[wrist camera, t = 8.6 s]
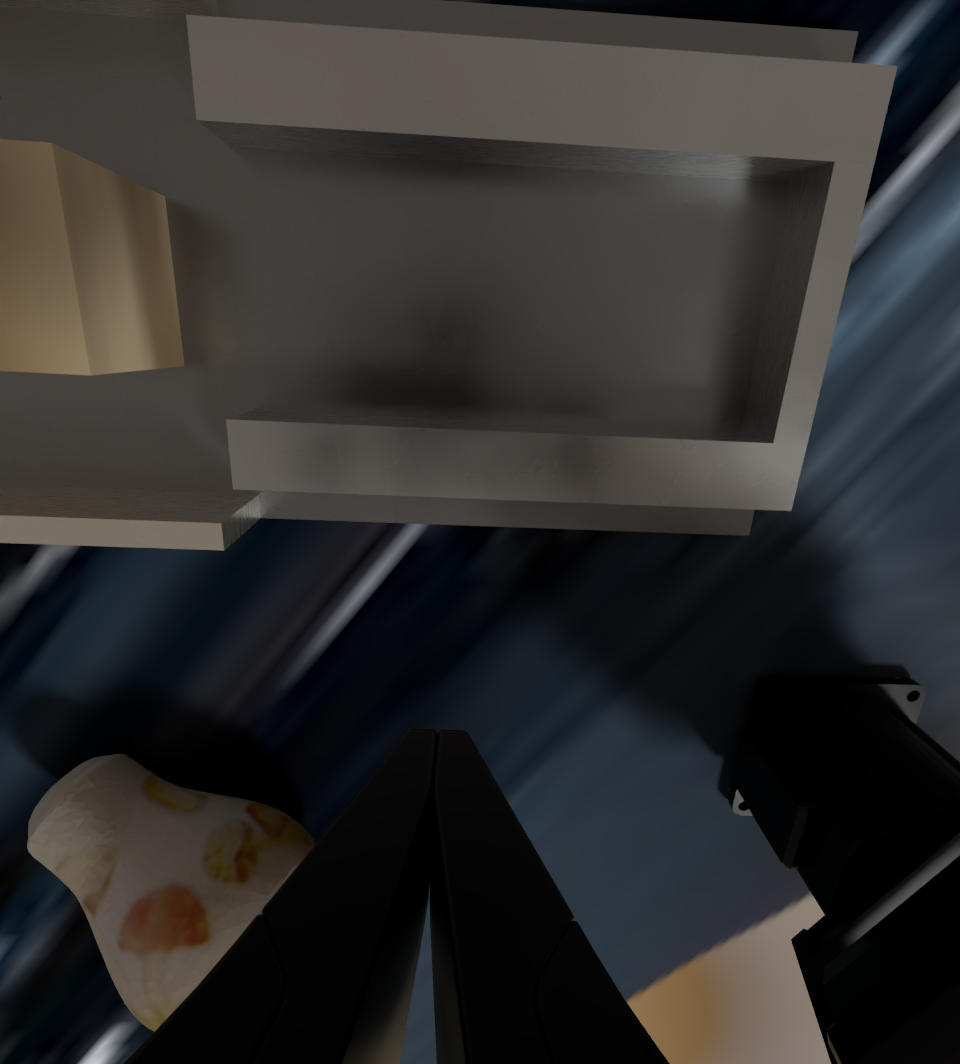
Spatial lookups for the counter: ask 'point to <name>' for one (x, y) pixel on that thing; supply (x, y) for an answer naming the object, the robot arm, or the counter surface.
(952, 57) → the counter surface
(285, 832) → the cream ceramic pitcher
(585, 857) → the counter surface
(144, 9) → the rail board
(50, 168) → the chip
